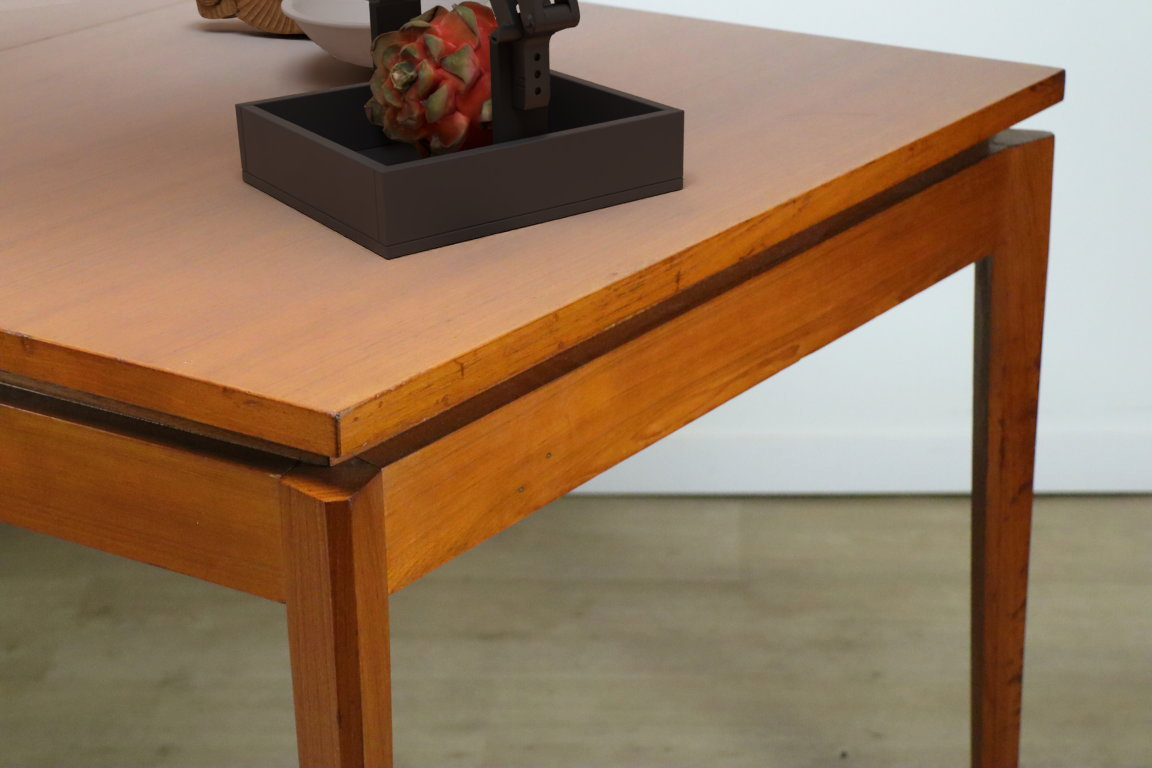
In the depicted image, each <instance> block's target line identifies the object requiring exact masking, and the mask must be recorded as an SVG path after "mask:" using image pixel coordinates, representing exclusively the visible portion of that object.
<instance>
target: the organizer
mask: <svg viewBox="0 0 1152 768" xmlns="http://www.w3.org/2000/svg"><path fill="white" fill-rule="evenodd" d="M549 76H550V83H549V85H550V100H549V104H548V106H547V109H548V134H545V135H540V136H535V137H530V138H525V139H520V140H515V141H510V142H505V143H500V144H495V145H490V146H485V147H480V148H475V149H470V150H466V151H461V152H456V153H451V154H446V155H441V156H436V157H431V158H426V159H423V158H422V157H421V156H420V154H419V153H418V151H417V149H416V148H415V147H414V146H413V145H412V144H410V143H404V142H397V141H393V140H391V139H390V138H388V137H387V136H386V134H385V133H384V132H383V129H384V128H381V127H379V126H377V125H373V124H371V123H370V121H369V119H368V118H367V115H366V111H365V108H364V105H366V103H367V102H368V101H369V100H370V99H371V98H372V97H373V93H372V91H371V88H370V84H369V81H366V82H360V83H353V84H349V85H348V84H347V85H341V86H335V87H330V88H324V89H317V90H311V91H305V92H300V93H299V92H298V93H295V94H288V95H281V96H276V97H269V98H263V99H258V100H251V101H246V102H239V103H236V104H234V108H235V119H236V129H237V137H238V138H237V139H238V147H239V148H238V149H239V155H240V156H239V157H240V167H241V174H242V181H244V182H245V183H247V184H249V185H251V186H253V187H254V188H257V189H258V190H260V191H261V192H264V193H266V194H267V195H270V196H271V197H273V198H275V200H278V201H279V202H282V203H284V204H286V205H287V206H288V207H289V206H290V208H293V209H295V210H297V211H299V212H300V213H302V214H304V215H305V216H307V217H310V218H312V219H313V220H315V221H317V222H318V223H320V224H322V225H324V226H326V227H329V228H330V229H331V230H334V231H335V232H337V233H339V234H341V235H343V236H345V237H346V238H348V239H350V240H352V241H354V242H356V243H357V244H359V245H360V246H363V247H365V248H366V249H368V250H370V251H372V252H374V253H376V254H378V255H379V256H380V257H383V258H385V259H386V260H390V259H393V258H398V257H402V256H407V255H411V254H415V253H419V252H422V251H428V250H432V249H435V248H439V247H444V246H449V245H452V244H457V243H461V242H465V241H469V240H473V239H477V238H482V237H486V236H490V235H494V234H498V233H502V232H508V231H511V230H514V229H519V228H523V227H528V226H531V225H535V224H540V223H545V222H548V221H552V220H556V219H561V218H565V217H568V216H574V215H577V214H581V213H586V212H590V211H594V210H599V209H602V208H603V209H604V208H607V207H611V206H615V205H620V204H624V203H627V202H632V201H636V200H640V199H644V198H645V199H646V198H649V197H653V196H657V195H661V194H665V193H670V192H674V191H679V190H683V189H684V160H685V159H684V155H685V154H684V153H685V152H684V151H685V150H684V149H685V110H684V109H680V108H677V107H674V106H671V105H667V104H666V103H665V104H664V103H661V102H658V101H656V100H655V101H654V100H651V99H648V98H645V97H642V96H638V95H635V94H633V93H629V92H626V91H624V90H623V91H622V90H619V89H616V88H612V87H609V86H607V85H603V84H601V83H597V82H593V81H590V80H587V79H584V78H580V77H577V76H574V75H571V74H567V73H564V72H561V71H558V70H555V69H551V68H550V75H549Z"/></svg>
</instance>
